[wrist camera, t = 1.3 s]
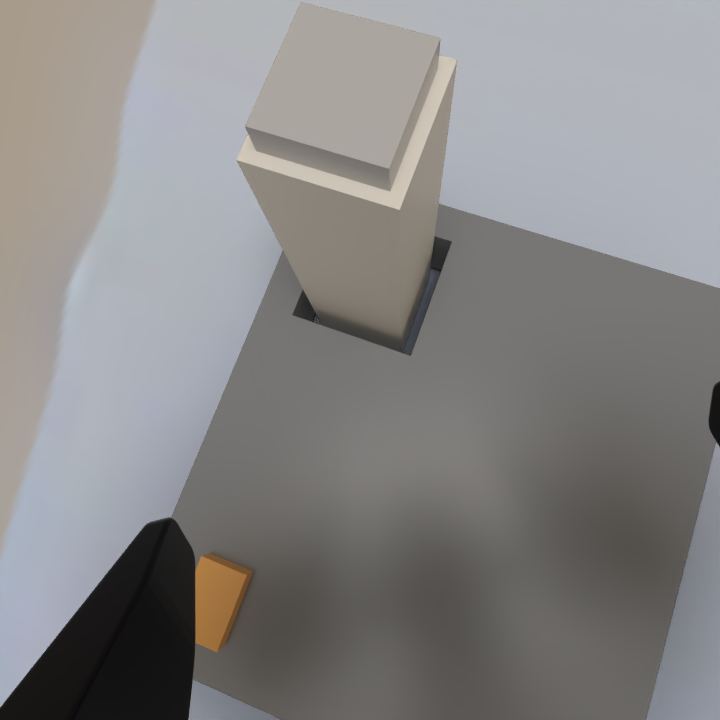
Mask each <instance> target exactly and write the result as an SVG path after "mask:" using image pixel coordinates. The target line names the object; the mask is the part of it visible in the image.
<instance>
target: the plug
mask: <svg viewBox="0 0 720 720" xmlns="http://www.w3.org/2000/svg"><path fill="white" fill-rule="evenodd" d="M439 50H440V38H439V37H435V36H431V35H427V34H424V33H420V32H416V31H412V30H408V29H404V28H400V27H396V26H393V25H389V24H385V23H381V22H377V21H373V20H369V19H365V18H362V17H358V16H354V15H350V14H346V13H342V12H338V11H334V10H331V9H327V8H323V7H319V6H315V5H311V4H307V3H303V2H301V3H300V5H299V7H298V10H297V12H296V14H295V16H294V18H293V21H292V23H291V25H290V27H289V30H288V32H287V34H286V36H285V38H284V41H283V43H282V45H281V47H280V50H279V52H278V54H277V56H276V58H275V61H274V63H273V65H272V67H271V70H270V72H269V74H268V76H267V78H266V81H265V83H264V85H263V87H262V90H261V92H260V94H259V96H258V98H257V101H256V103H255V105H254V107H253V109H252V112H251V114H250V116H249V118H248V121H247V123H246V125H245V127H246V130H247V132H248V135H247V137H246V140H245V142H244V144H243V146H242V149H241V151H240V153H239V155H238V157H237V162H238V164H239V166H240V168H241V170H242V172H243V174H244V176H245V178H246V180H247V182H248V183H249V185H250V187H251V189H252V191H253V193H254V195H255V197H256V199H257V201H258V203H259V205H260V207H261V209H262V211H263V213H264V214H265V216H266V218H267V220H268V222H269V224H270V226H271V228H272V230H273V232H274V234H275V236H276V238H277V240H278V242H279V244H280V245H281V247H282V249H283V251H284V253H285V255H286V257H287V259H288V261H289V263H290V265H291V267H292V269H293V271H294V273H295V274H296V276H297V278H298V280H299V282H300V284H301V286H302V288H303V290H304V292H305V294H306V296H307V298H308V300H309V302H310V304H311V305H312V307H313V309H314V311H315V313H316V315H317V317H318V319H319V321H320V323H321V325H322V326H325V327H328V328H331V329H334V330H337V331H340V332H343V333H346V334H349V335H351V336H354V337H357V338H360V339H363V340H366V341H369V342H372V343H375V344H378V345H381V346H383V347H386V348H389V349H392V350H395V351H398V352H401V353H402V352H403V349H404V347H405V344H406V341H407V338H408V336H409V333H410V330H411V327H412V325H413V322H414V319H415V316H416V314H417V311H418V308H419V305H420V303H421V300H422V297H423V294H424V292H425V289H426V286H427V283H428V281H429V275H430V267H431V260H432V252H433V244H434V236H435V229H436V221H437V213H438V205H439V198H440V190H441V182H442V174H443V167H444V159H445V151H446V143H447V135H448V128H449V120H450V112H451V104H452V97H453V89H454V81H455V73H456V66H457V60H455V59H452V58H448V57H444V56H440V55H439Z"/></svg>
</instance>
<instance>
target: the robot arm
mask: <svg viewBox="0 0 720 720" xmlns="http://www.w3.org/2000/svg"><path fill="white" fill-rule="evenodd" d="M708 424H709V429H710V431H711V434H712V436H713V437H714V439H715V440H716V442H717V443H718V445H719V446H720V381H719V382H717V383H716V384H715V385H714V387H713V391H712V397H711V404H710V411H709V418H708ZM195 639H196V612H195V556H194V552H193V549H192V547H191V545H190V543H189V542H188V540H187V538H186V537H185V535H184V533H183V532H182V530H181V528H180V526H179V525H178V523H177V522H176V520H174V519H173V518H165V519H161V520H157V521H152V522H150V523H148V524H146V525H145V526H144V527H143V529H142V530H141V531H140V532H139V534H138V535H137V536H136V537H135V539H134V540H133V541H132V543H131V544H130V545H129V546H128V548H127V549H126V550H125V551H124V553H123V554H122V555H121V556H120V558H119V559H118V560H117V561H116V563H115V564H114V565H113V566H112V568H111V569H110V570H109V571H108V573H107V574H106V575H105V576H104V578H103V579H102V580H101V581H100V583H99V584H98V585H97V587H96V588H95V589H94V590H93V592H92V593H91V594H90V595H89V597H88V598H87V599H86V600H85V602H84V603H83V604H82V605H81V607H80V608H79V609H78V610H77V612H76V613H75V614H74V615H73V617H72V618H71V619H70V620H69V622H68V623H67V624H66V626H65V627H64V628H63V629H62V631H61V632H60V633H59V634H58V636H57V637H56V638H55V639H54V641H53V642H52V643H51V644H50V646H49V647H48V648H47V649H46V651H45V652H44V653H43V654H42V656H41V657H40V658H39V659H38V661H37V662H36V663H35V664H34V666H33V667H32V668H31V670H30V671H29V672H28V673H27V675H26V676H25V677H24V678H23V680H22V681H21V682H20V683H19V685H18V686H17V687H16V688H15V690H14V691H13V692H12V693H11V695H10V696H9V697H8V698H7V700H6V701H5V702H4V703H3V705H2V706H1V707H0V720H188V718H189V708H190V699H191V690H192V681H193V671H194V660H195Z"/></svg>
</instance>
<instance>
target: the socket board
mask: <svg viewBox="0 0 720 720" xmlns="http://www.w3.org/2000/svg"><path fill="white" fill-rule="evenodd" d="M431 267H433V268H436V269H440V270H442V271H441V274H440V276H439V279H438V282H437V285H436V287H435V290H434V293H433V296H432V298H431V301H430V304H429V307H428V310H427V312H426V315H425V318H424V321H423V323H422V326H421V329H420V332H419V334H418V337H417V340H416V343H415V345H414V348H413V351H412V354H411V356H410V355H407V354H404V353H401V352H398V351H395V350H392V349H389V348H386V347H383V346H381V345H378V344H375V343H372V342H369V341H366V340H363V339H360V338H357V337H354V336H351V335H349V334H346V333H343V332H340V331H337V330H334V329H331V328H328V327H325V326H322V325H319V324H317V323H314V322H312V320H313V317H314V315H315V311H314V309H313V307H312V305H311V304H310V302H309V300H308V298H307V296H306V294H305V292H304V290H303V288H302V286H301V284H300V282H299V280H298V278H297V276H296V274H295V273H294V271H293V269H292V267H291V265H290V263H289V261H288V259H287V257H286V255H285V253H284V251H283V252H282V254H281V256H280V259H279V261H278V264H277V266H276V268H275V271H274V273H273V276H272V278H271V280H270V283H269V285H268V288H267V290H266V292H265V295H264V297H263V299H262V302H261V304H260V307H259V309H258V311H257V314H256V316H255V319H254V321H253V323H252V326H251V328H250V331H249V333H248V335H247V338H246V340H245V343H244V345H243V347H242V350H241V352H240V354H239V357H238V359H237V362H236V364H235V366H234V369H233V371H232V374H231V376H230V378H229V381H228V383H227V386H226V388H225V390H224V393H223V395H222V397H221V400H220V402H219V405H218V407H217V409H216V412H215V414H214V417H213V419H212V421H211V424H210V426H209V429H208V431H207V433H206V436H205V438H204V441H203V443H202V445H201V448H200V450H199V452H198V455H197V457H196V460H195V462H194V464H193V467H192V469H191V472H190V474H189V476H188V479H187V481H186V484H185V486H184V488H183V491H182V493H181V496H180V498H179V500H178V503H177V505H176V507H175V510H174V512H173V515H172V517H171V518H173V519H174V520H176V522H177V523H178V525H179V526H180V528H181V530H182V532H183V533H184V535H185V537H186V538H187V540H188V542H189V543H190V545H191V547H192V549H193V552H194V556H195V612H196V639H195V660H194V671H193V679H194V680H196V681H198V682H200V683H203V684H205V685H207V686H209V687H211V688H214V689H216V690H218V691H220V692H222V693H225V694H227V695H229V696H231V697H233V698H236V699H238V700H240V701H242V702H244V703H247V704H249V705H251V706H253V707H255V708H258V709H260V710H262V711H264V712H266V713H269V714H271V715H273V716H275V717H277V718H280V719H282V720H646V717H647V713H648V709H649V705H650V701H651V698H652V694H653V690H654V686H655V682H656V678H657V674H658V670H659V666H660V662H661V658H662V654H663V650H664V646H665V642H666V638H667V634H668V630H669V626H670V622H671V618H672V614H673V610H674V607H675V603H676V599H677V595H678V591H679V587H680V583H681V579H682V575H683V571H684V567H685V563H686V559H687V555H688V551H689V547H690V543H691V539H692V535H693V531H694V527H695V523H696V520H697V516H698V512H699V508H700V504H701V500H702V496H703V492H704V488H705V484H706V480H707V476H708V472H709V468H710V464H711V460H712V456H713V452H714V448H715V444H716V440H715V439H714V437H713V436H712V434H711V431H710V429H709V424H708V418H709V411H710V404H711V397H712V391H713V387H714V385H715V384H716V383H717V382H719V381H720V288H716V287H713V286H710V285H706V284H703V283H700V282H696V281H693V280H690V279H686V278H683V277H680V276H676V275H673V274H670V273H667V272H663V271H660V270H657V269H653V268H650V267H647V266H643V265H640V264H637V263H633V262H630V261H627V260H623V259H620V258H617V257H613V256H610V255H607V254H603V253H600V252H597V251H593V250H590V249H587V248H584V247H580V246H577V245H574V244H570V243H567V242H564V241H560V240H557V239H554V238H550V237H547V236H544V235H540V234H537V233H534V232H530V231H527V230H524V229H520V228H517V227H514V226H510V225H507V224H504V223H501V222H497V221H494V220H491V219H487V218H484V217H481V216H477V215H474V214H471V213H467V212H464V211H461V210H457V209H454V208H451V207H447V206H444V205H441V204H439V205H438V213H437V221H436V229H435V236H434V244H433V252H432V260H431Z"/></svg>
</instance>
